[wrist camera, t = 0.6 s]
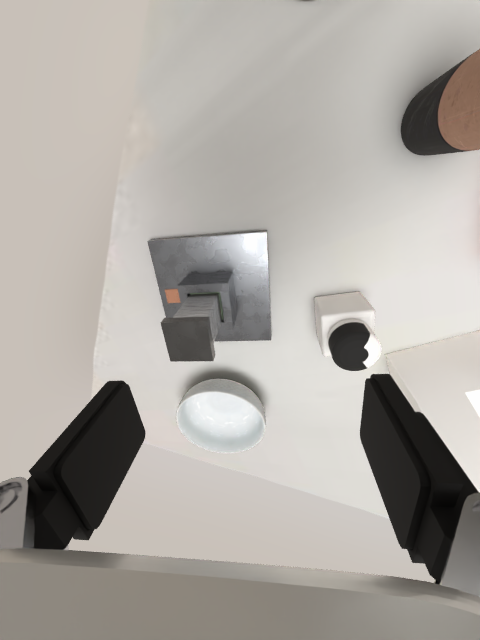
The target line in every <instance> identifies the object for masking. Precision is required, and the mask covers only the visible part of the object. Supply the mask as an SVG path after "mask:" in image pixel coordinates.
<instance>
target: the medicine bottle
mask: <svg viewBox="0 0 480 640" xmlns="http://www.w3.org/2000/svg"><path fill="white" fill-rule="evenodd" d="M314 303H315V318H316V333H317V337H318V340H319V344H320V347H321V350H322V354H323V356H324V357H332V358H333V360H334V362H335V363H336V364H337V365H338V366H339V367H341V368H342V369H345V370H349V371H359V370H363V369H366V368H368V367H370V366H372V365H373V364H374V363H375V362H376V361H377V360H378V359H379V357H380V355H381V351H382V347H381V343H380V341H379V340H378V338H377V337H376V335H375V334H374V328H375V310H374V308H373V307H372V306H371V305H370V303H369V302H368V301H367V300H366V298H365V297H364V296H363V295H362V293H361V292H351V293H343V294H335V295H327V296H319V297H315V298H314Z"/></svg>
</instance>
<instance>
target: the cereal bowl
mask: <svg viewBox="0 0 480 640" xmlns="http://www.w3.org/2000/svg"><path fill="white" fill-rule="evenodd" d="M176 421H177V425H178V427H179V429H180V431H181V432H182V434H183V435H184V436H185V437H186V438H187V439H188V440H189V441H190V442H192V443H193V444H195V445H197V446H199V447H201V448H203V449H206V450H209V451H212V452H218V453H238V452H242V451H246V450H248V449H250V448H252V447H254V446H255V445H256V444H258V443H259V442H260V440H261V439H262V437H263V436H264V433H265V429H266V419H265V412H264V408H263V405H262V403H261V402H260V400H259V399H258V397H257V396H256V394H255V393H253V391H251V390H250V389H249V388H247V387H246V386H244V385H242V384H240V383H238V382H235V381H232V380H228V379H210V380H206V381H203V382H200V383H198V384H196V385H195V386H193V387H192V388H190V390H188V391H187V393H186V394H185V395H184V396H183V398H182V400H181V402H180V404H179V406H178V409H177V412H176Z"/></svg>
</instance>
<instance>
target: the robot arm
mask: <svg viewBox="0 0 480 640" xmlns="http://www.w3.org/2000/svg"><path fill="white" fill-rule="evenodd" d="M360 438H361V442H362V445H363V447H364V450H365V453H366V456H367V458H368V461H369V464H370V466H371V469H372V472H373V474H374V477H375V480H376V483H377V485H378V488H379V491H380V493H381V496H382V499H383V502H384V504H385V507H386V510H387V512H388V515H389V518H390V521H391V523H392V526H393V529H394V531H395V534H396V537H397V540H398V542H399V544H400V546H401V547H402V549H407V550H408V552H409V555H410V557H411V560H412V562H413V563H425V564H426V567H427V569H428V571H429V574H430V575H431V576H432V577H433V578H434V579H435V580H434V583H430V582H426V581H419V580H413V579H406V578H399V577H393V576H383V575H374V574H364V573H354V572H344V571H334V570H323V569H311V568H299V567H286V566H274V565H262V564H250V563H237V562H224V561H211V560H198V559H185V558H172V557H158V556H145V555H130V554H116V553H101V552H86V551H73V550H68V544H69V542H70V540H71V538H72V537H73V538H74V539H79V540H89V538H90V536H91V535H92V533H93V531H94V529H97V528H98V527H99V525H100V524H101V522H102V520H103V518H104V516H105V514H106V512H107V510H108V509H109V507H110V505H111V503H112V501H113V499H114V497H115V495H116V493H117V491H118V489H119V487H120V485H121V484H122V481H123V480H124V478H125V476H126V474H127V471H128V470H129V468H130V466H131V464H132V462H133V460H134V458H135V457H136V454H137V453H138V451H139V449H140V447H141V445H142V443H143V441H144V439H145V429H144V426H143V424H142V421H141V418H140V415H139V412H138V410H137V407H136V404H135V401H134V398H133V396H132V393H131V390H130V387H129V385H128V384H126V383H125V382H124V381H108V382H107V383H106V384H105V385H104V386H103V387H102V388H101V390H100V391H99V392H98V393H97V394H96V395H95V396H94V398H93V399H92V400H91V401H90V402H89V403H88V404H87V406H86V407H85V408H84V409H83V410H82V411H81V412H80V413H79V415H78V416H77V417H76V418H75V419H74V420H73V421H72V423H71V424H70V425H69V426H68V427H67V428H66V429H65V431H64V432H63V433H62V434H61V435H60V436H59V438H57V440H56V441H55V442H54V443H53V444H52V445H51V447H50V448H49V449H48V450H47V451H46V452H45V453H44V454H43V456H42V457H41V458H40V459H39V460H38V461H37V462H36V464H35V465H34V466H33V467H32V468H31V469H30V470H29V472H30V474H31V475H32V476H31V477H30V478H29V479H28V480H26V479H25V478H22V477H16V478H11V479H8V480H6V481H3V482H1V483H0V640H480V493H479V492H478V490H477V489H476V488H475V486H474V485H473V483H472V482H471V480H470V479H469V478H468V476H467V475H466V473H465V472H464V470H463V469H462V468H461V466H460V465H459V463H458V462H457V460H456V459H455V458H454V456H453V455H452V453H451V452H450V451H449V449H448V448H447V446H446V445H445V443H444V442H443V441H442V439H441V438H440V436H439V435H438V433H437V432H436V431H435V429H434V428H433V426H432V425H431V423H430V422H429V421H428V419H427V418H426V417H425V415H424V414H423V413H421V412H415V411H414V409H413V408H412V406H411V405H410V403H409V402H408V400H407V399H406V397H405V396H404V394H403V393H402V391H401V390H400V388H399V387H398V385H397V384H396V382H395V381H394V379H393V378H392V376H391V375H390V374H372V375H371V378H369V379H366V381H365V390H364V399H363V408H362V418H361V427H360Z"/></svg>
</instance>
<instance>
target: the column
mask: <svg viewBox="0 0 480 640" xmlns="http://www.w3.org/2000/svg"><path fill="white" fill-rule="evenodd" d="M223 318H224V317H223V310H222V302H221V294H220V292H207V293H190V295H189V296H188V298H187V299H186V300H185V302H184V303H183V304H182V306H181V307H180V308H179V310H178V311H177V312H176V314H175V315H174V317H173V318H164V319H163V321H162V322H161V326H162V330H163V334H164V338H165V342H166V346H167V349H168V353H169V357H170V361H213V360H214V357H215V351H214V341H215V338H216V336H217V333H218V330H219V327H220V325H221V322H222V319H223Z"/></svg>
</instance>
